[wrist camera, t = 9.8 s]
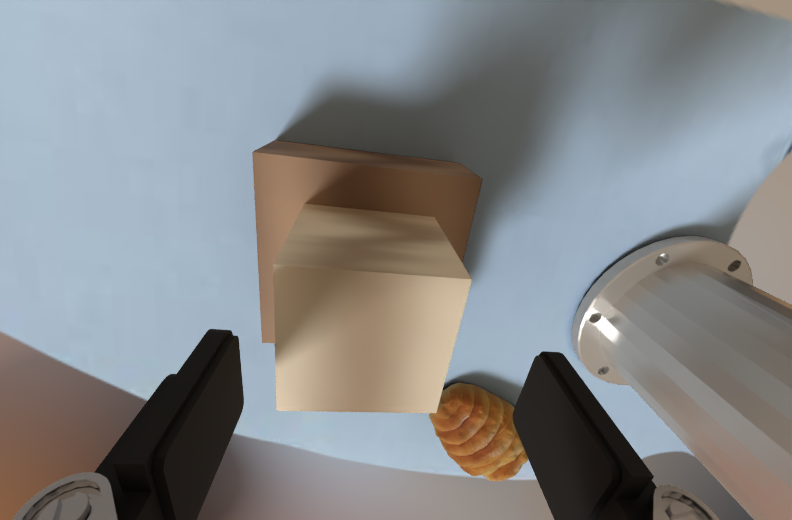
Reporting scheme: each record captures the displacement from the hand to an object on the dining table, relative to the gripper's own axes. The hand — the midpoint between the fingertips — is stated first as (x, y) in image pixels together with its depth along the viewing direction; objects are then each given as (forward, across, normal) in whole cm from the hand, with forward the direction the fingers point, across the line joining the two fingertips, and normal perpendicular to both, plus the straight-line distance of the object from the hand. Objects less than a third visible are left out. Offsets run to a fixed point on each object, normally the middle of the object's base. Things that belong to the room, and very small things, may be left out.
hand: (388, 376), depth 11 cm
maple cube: (+7, +1, 0) cm, 7 cm away
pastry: (+12, -10, +16) cm, 22 cm away
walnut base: (+11, +1, 0) cm, 11 cm away
